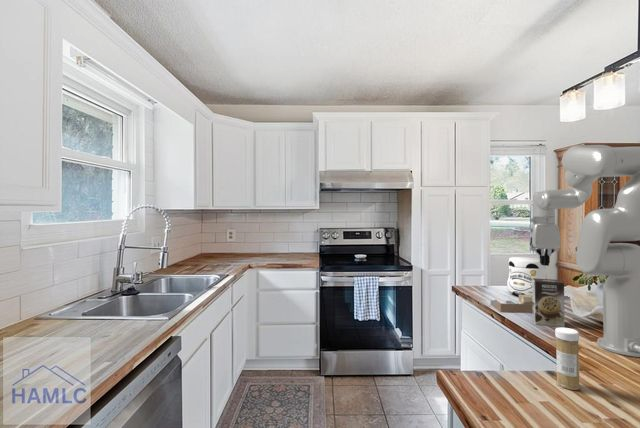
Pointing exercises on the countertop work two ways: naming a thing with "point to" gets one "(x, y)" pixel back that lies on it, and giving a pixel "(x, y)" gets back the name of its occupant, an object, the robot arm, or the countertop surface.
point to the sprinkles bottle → (567, 358)
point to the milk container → (524, 274)
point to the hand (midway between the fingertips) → (544, 265)
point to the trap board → (512, 307)
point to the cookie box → (548, 302)
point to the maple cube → (525, 299)
